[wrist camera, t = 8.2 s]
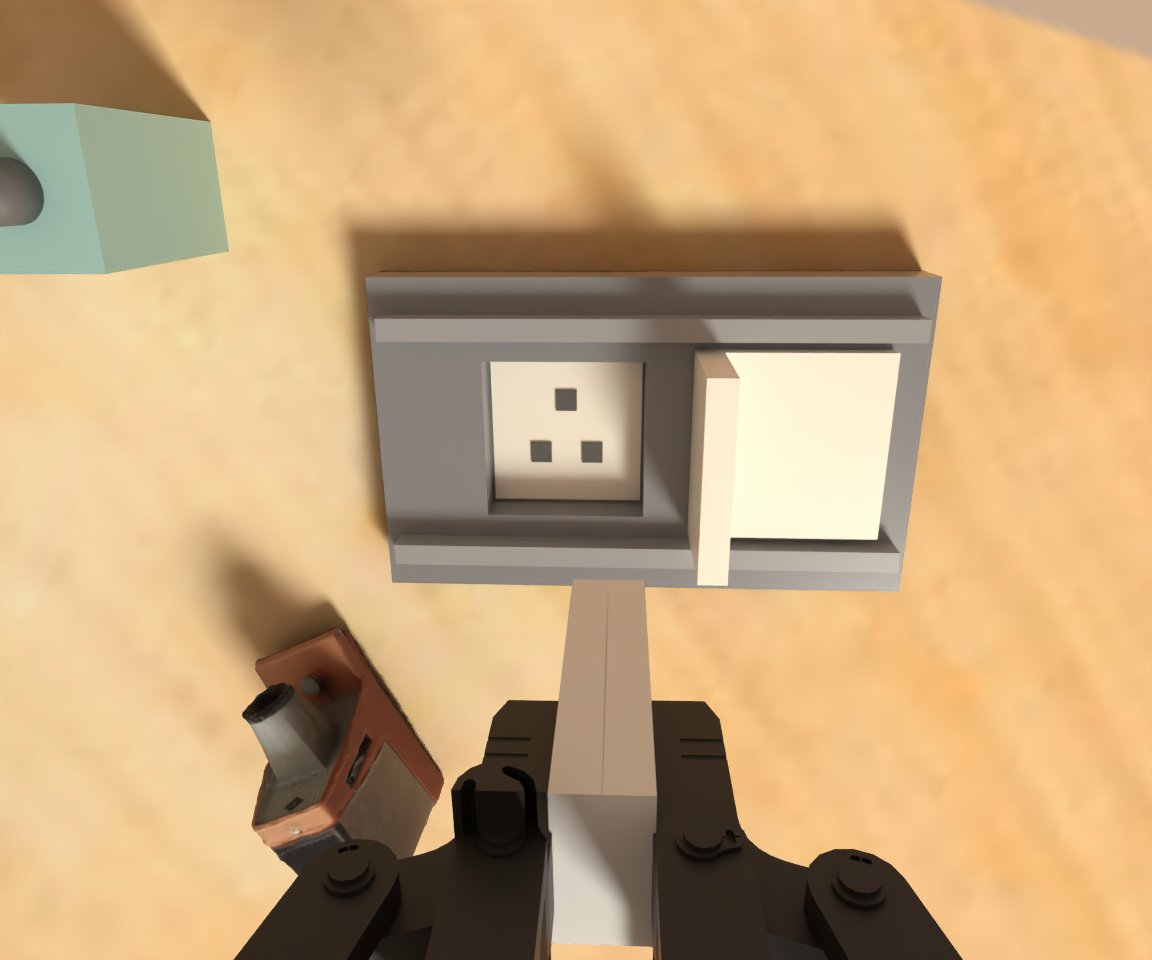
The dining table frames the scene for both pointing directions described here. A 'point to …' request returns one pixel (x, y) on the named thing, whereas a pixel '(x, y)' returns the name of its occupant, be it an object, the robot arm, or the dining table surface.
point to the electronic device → (335, 755)
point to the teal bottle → (104, 189)
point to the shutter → (786, 448)
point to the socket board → (610, 418)
